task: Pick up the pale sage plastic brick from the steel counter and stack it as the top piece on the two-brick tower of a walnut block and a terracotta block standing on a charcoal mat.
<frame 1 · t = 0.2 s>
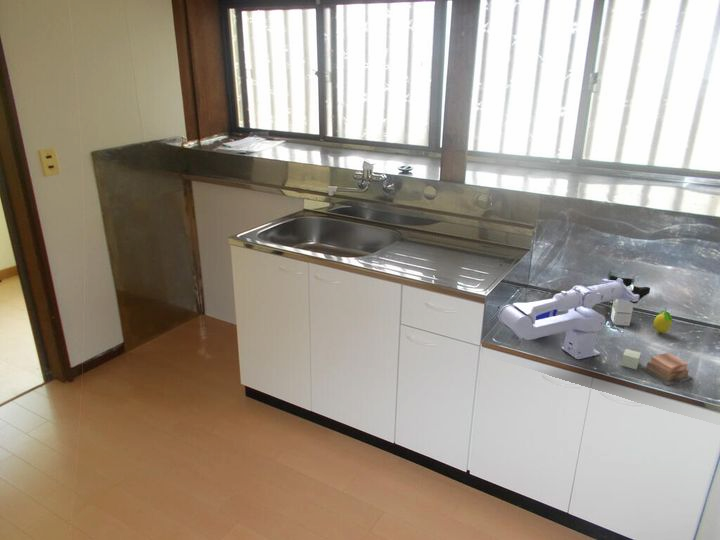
hand: (639, 285, 183), 21 cm above the counter, tool horizontal, fingers open, 7 cm apart
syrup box: (619, 322, 205), on the counter
mug: (539, 331, 199), on the counter
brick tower: (666, 373, 172), on the counter
lemon: (660, 333, 197), on the counter
sage brick: (629, 364, 178), on the counter
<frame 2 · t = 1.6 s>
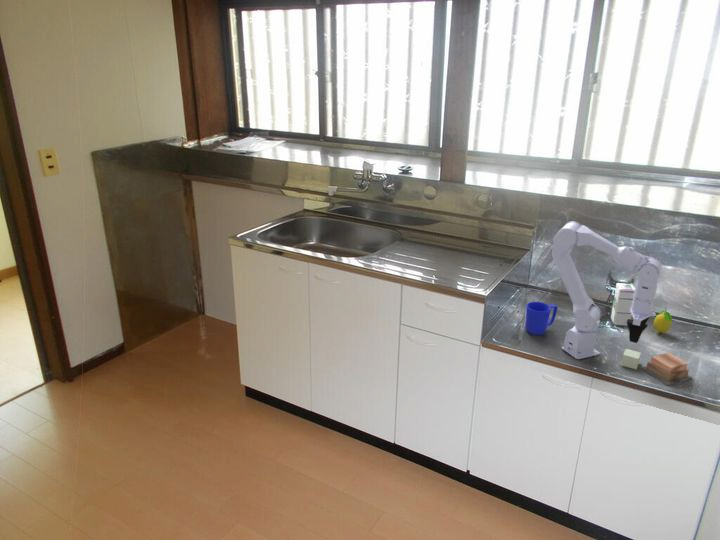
hand: (635, 336, 174), 10 cm above the counter, tool pointing down, fingers open, 7 cm apart
nothing on the counter moved.
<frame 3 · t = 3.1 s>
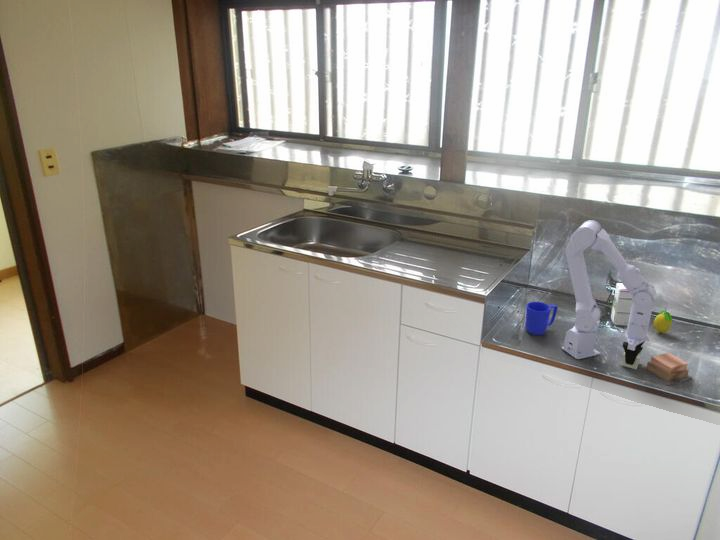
hand: (630, 360, 177), 1 cm above the counter, tool pointing down, fingers closed on sage brick, 4 cm apart
sage brick: (629, 364, 178), on the counter, touching gripper
everything else where it was.
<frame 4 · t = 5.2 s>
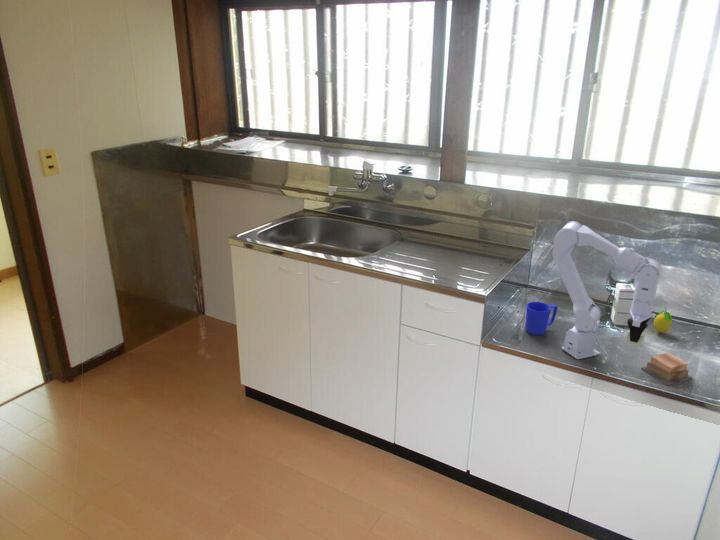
hand: (635, 338, 174), 9 cm above the counter, tool pointing down, fingers closed on sage brick, 4 cm apart
sage brick: (634, 342, 175), point 8 cm above the counter, touching gripper
everything else where it was.
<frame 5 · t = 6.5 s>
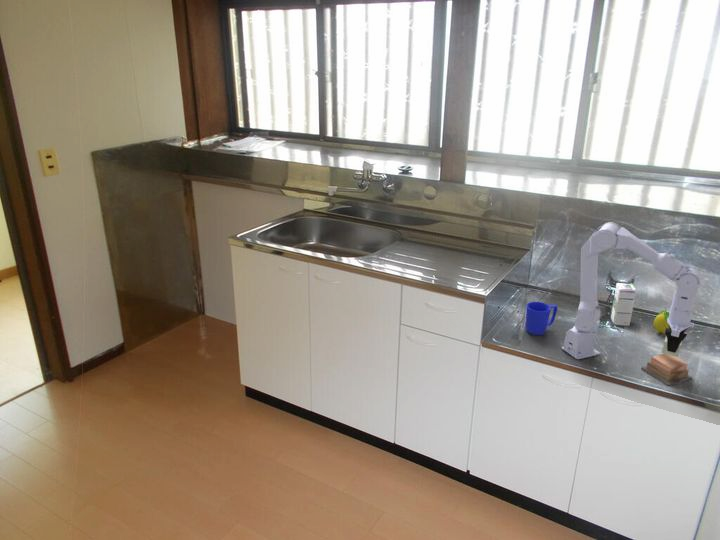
hand: (672, 347, 169), 9 cm above the counter, tool pointing down, fingers closed on sage brick, 4 cm apart
sage brick: (670, 352, 169), point 8 cm above the counter, touching gripper
everything else where it was.
when the fingers open (7 cm above the counter, at t = 7.7 s): sage brick stays where it is, resting on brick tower.
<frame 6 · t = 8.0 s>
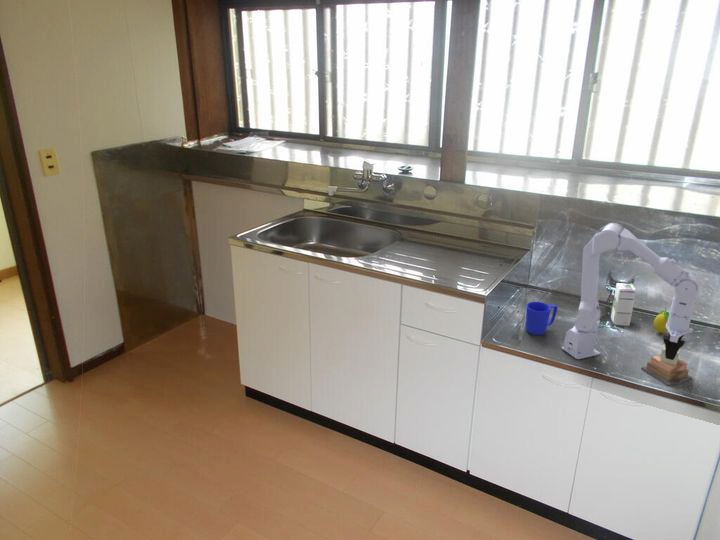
hand: (671, 353, 169), 7 cm above the counter, tool pointing down, fingers open, 7 cm apart
sage brick: (668, 359, 170), point 5 cm above the counter, touching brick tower
everything else where it was.
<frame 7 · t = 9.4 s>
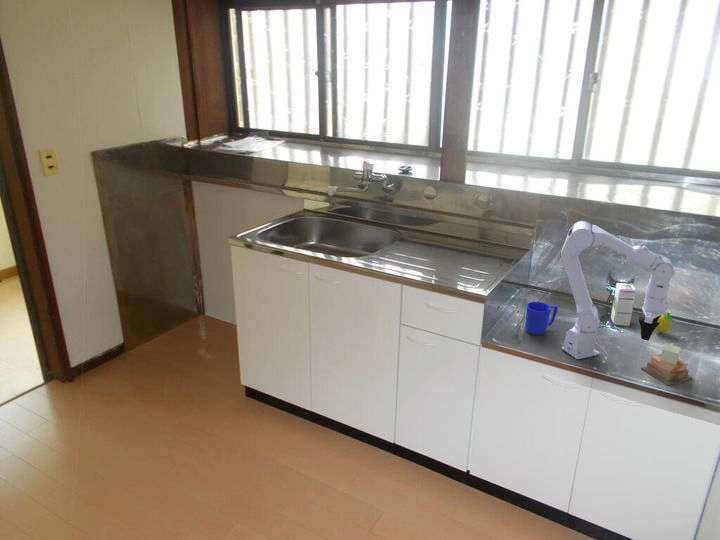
hand: (647, 334, 176), 10 cm above the counter, tool pointing down, fingers open, 7 cm apart
nothing on the counter moved.
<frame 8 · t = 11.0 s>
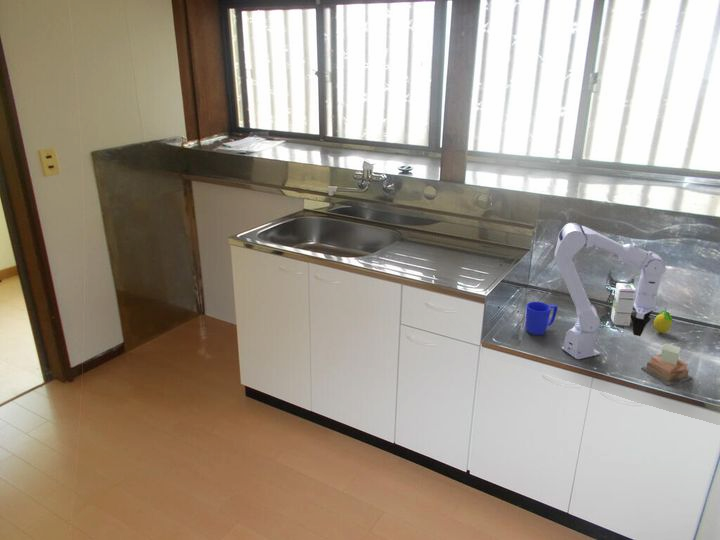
hand: (638, 330, 178), 10 cm above the counter, tool pointing down, fingers open, 7 cm apart
nothing on the counter moved.
at the end: sage brick 0.1 cm off-centre on the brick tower, point 5.0 cm above the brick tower's base; sage brick tilted 0°; the gripper is holding nothing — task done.
